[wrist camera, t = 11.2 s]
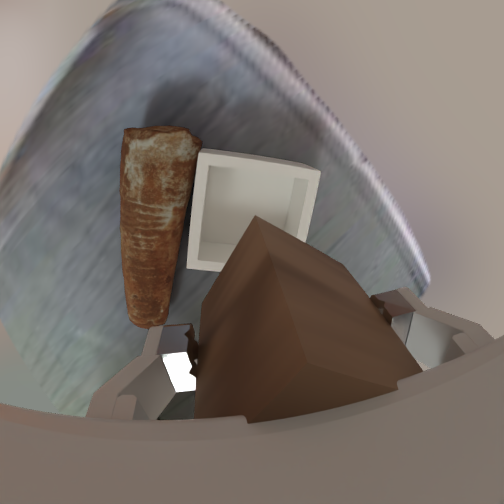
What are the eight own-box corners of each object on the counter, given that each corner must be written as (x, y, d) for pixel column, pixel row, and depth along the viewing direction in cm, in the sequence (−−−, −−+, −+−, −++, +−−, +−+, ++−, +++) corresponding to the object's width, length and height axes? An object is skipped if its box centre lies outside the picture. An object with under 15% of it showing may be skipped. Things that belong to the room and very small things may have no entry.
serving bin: (284, 254, 29) (296, 279, 24) (191, 244, 27) (186, 268, 23) (303, 163, 25) (321, 171, 21) (202, 148, 24) (198, 152, 19)
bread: (206, 130, 24) (203, 131, 19) (173, 317, 31) (167, 352, 26) (136, 119, 22) (115, 118, 17) (117, 306, 29) (102, 339, 24)
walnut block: (286, 338, 14) (329, 485, 7) (201, 303, 13) (192, 472, 6) (343, 264, 13) (442, 399, 6) (255, 215, 12) (308, 362, 4)
